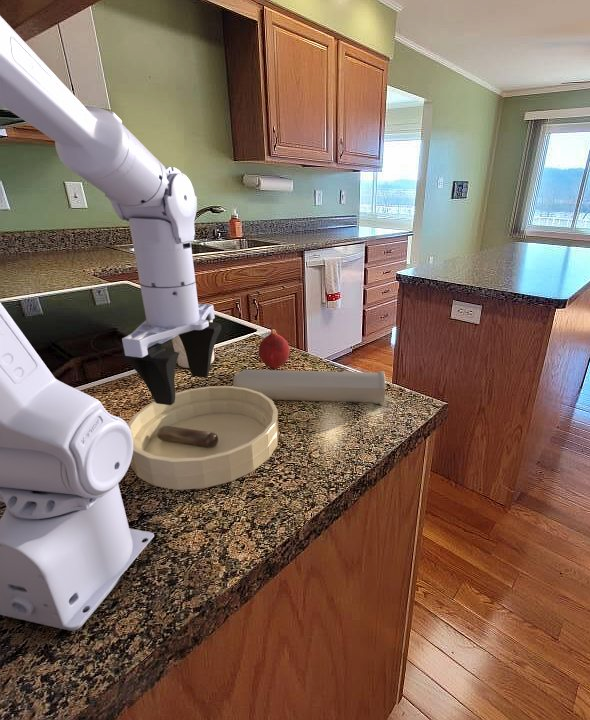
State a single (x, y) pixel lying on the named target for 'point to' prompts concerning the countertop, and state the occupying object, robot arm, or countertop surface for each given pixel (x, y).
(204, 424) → the bowl
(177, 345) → the white cup
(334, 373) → the tube
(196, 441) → the stick
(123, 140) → the robot arm
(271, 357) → the onion
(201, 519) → the countertop surface
